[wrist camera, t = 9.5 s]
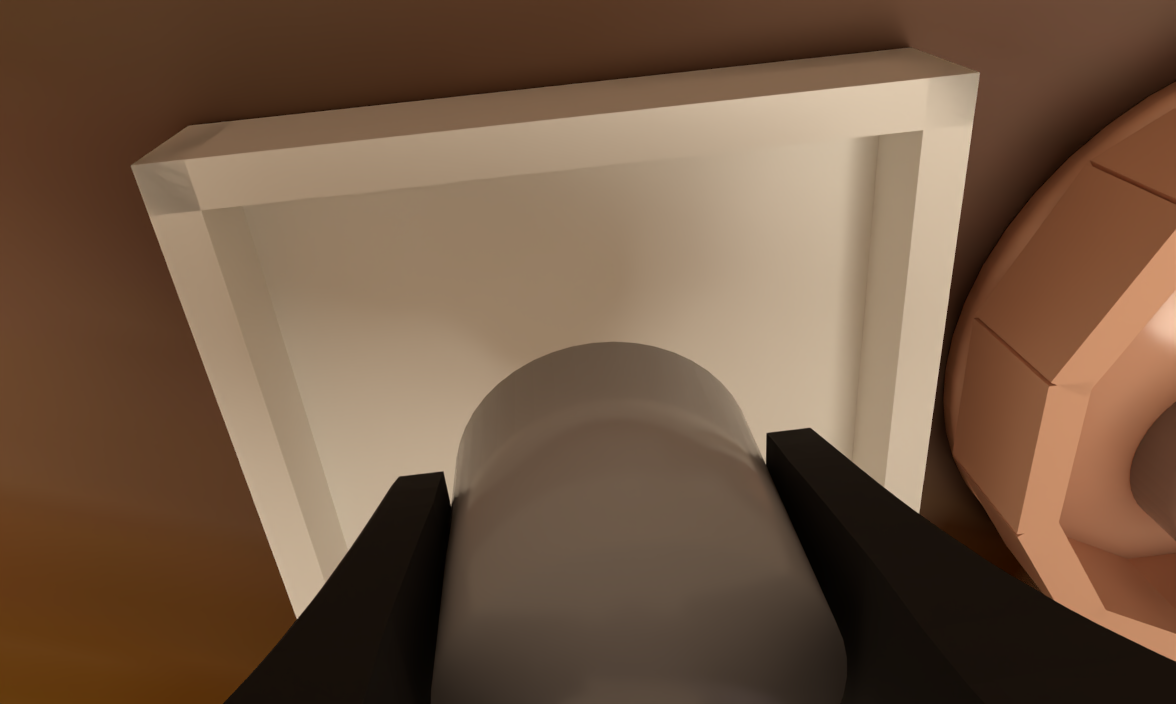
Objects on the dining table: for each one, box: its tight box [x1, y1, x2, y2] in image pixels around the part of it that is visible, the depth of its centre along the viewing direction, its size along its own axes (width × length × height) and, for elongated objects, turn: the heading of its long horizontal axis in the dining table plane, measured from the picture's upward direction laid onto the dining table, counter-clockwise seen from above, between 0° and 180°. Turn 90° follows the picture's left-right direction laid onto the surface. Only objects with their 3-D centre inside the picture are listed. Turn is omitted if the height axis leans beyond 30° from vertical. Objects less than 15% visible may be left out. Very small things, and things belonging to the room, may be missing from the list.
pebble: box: [431, 342, 847, 704], centre depth 10 cm, size 4×4×4 cm
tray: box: [131, 47, 980, 619], centre depth 18 cm, size 18×13×2 cm
